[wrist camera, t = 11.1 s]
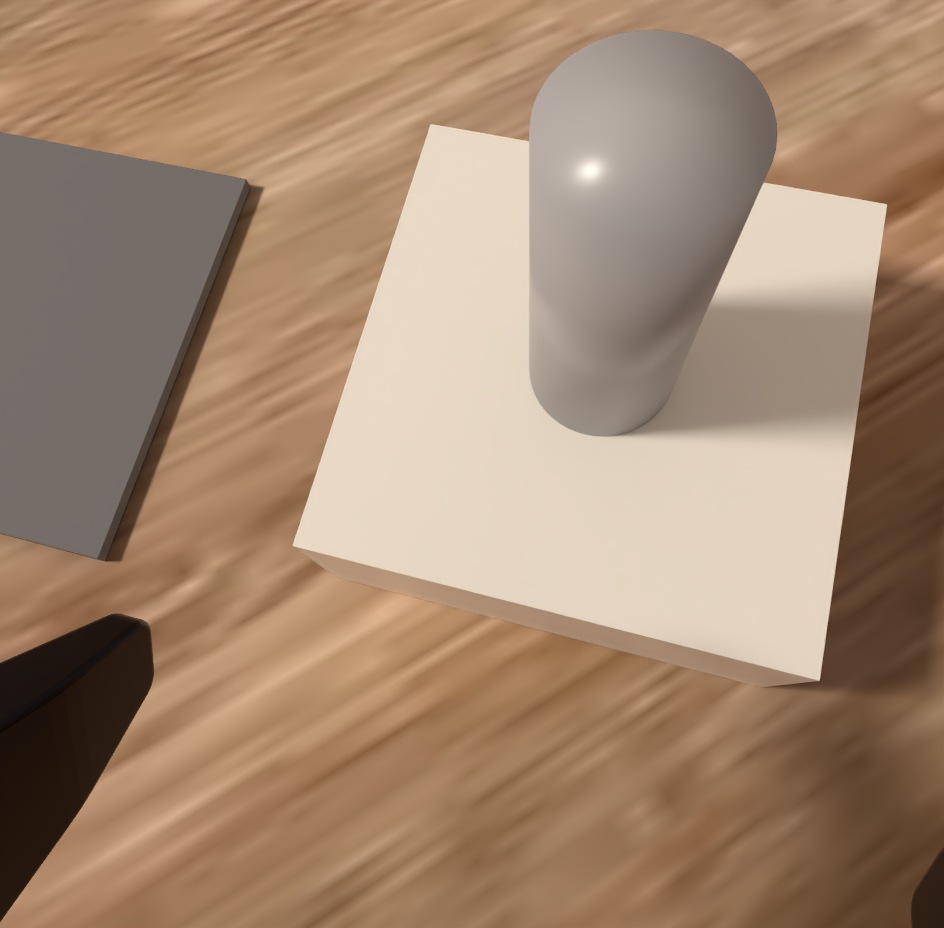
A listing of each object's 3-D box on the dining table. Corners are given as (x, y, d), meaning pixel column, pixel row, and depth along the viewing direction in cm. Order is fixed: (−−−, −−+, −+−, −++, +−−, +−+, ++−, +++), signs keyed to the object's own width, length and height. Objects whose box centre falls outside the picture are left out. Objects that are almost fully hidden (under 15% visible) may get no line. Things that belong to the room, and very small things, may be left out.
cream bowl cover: (761, 687, 20) (1074, 652, 8) (336, 577, 21) (115, 421, 10) (824, 293, 23) (1120, -129, 11) (447, 221, 24) (374, -216, 13)
